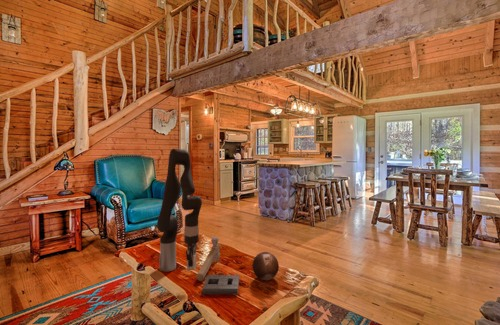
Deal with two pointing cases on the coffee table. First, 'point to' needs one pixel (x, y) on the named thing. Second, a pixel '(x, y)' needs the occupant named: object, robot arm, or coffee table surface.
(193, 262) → the block
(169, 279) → the coffee table surface
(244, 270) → the coffee table surface
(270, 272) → the wooden sphere
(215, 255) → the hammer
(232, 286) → the socket plate
